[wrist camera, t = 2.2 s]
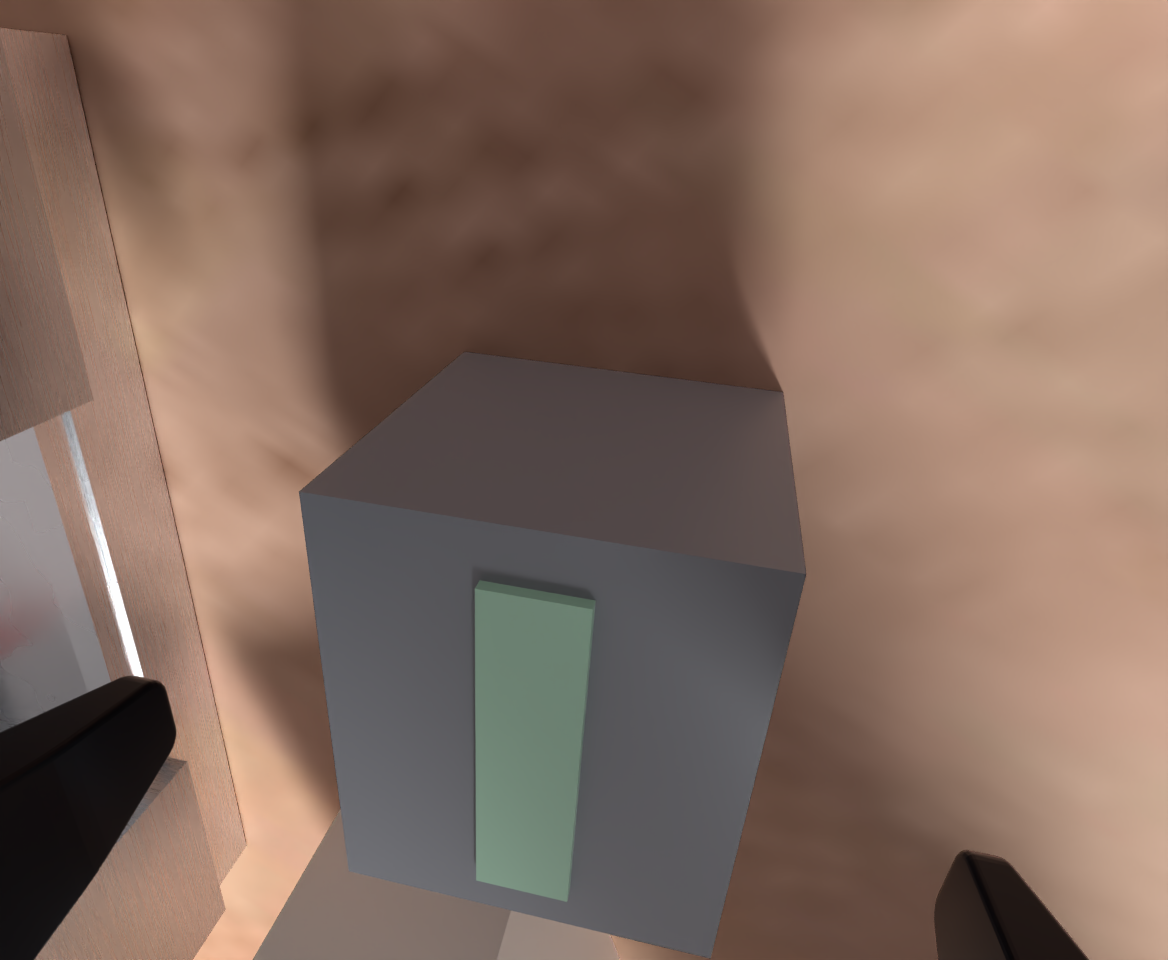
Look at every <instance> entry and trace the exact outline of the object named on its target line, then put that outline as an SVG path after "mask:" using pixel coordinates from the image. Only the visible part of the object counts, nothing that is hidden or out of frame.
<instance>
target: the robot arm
mask: <svg viewBox="0 0 1168 960" xmlns="http://www.w3.org/2000/svg"><path fill="white" fill-rule="evenodd" d="M175 740H176V725H175V721H174V718H173V714H172V710H171V706H170V702H169V698H168V694H167V691H166V688H165V686H164V685H163V684H162V683H161V682H160V681H158V680H154V679H149V678H144V677H140V676H134V675H129V676H123V677H121V678H118V679H116V680H114V681H111V682H109V683H107V684H105V685H103V686H100V687H98V688H96V689H94V690H92V691H90V692H87V693H85V694H83V695H81V696H79V697H76V698H74V699H72V700H70V701H68V702H65V703H63V704H61V705H59V706H57V707H54V708H52V709H50V710H48V711H46V712H43V713H41V714H39V715H37V716H35V717H32V718H30V719H28V720H26V721H24V722H21V723H19V724H17V725H15V726H13V727H10V728H8V729H6V730H4V731H2V732H0V960H35V958H36V957H37V956H38V954H39V953H40V952H41V950H42V949H43V947H44V946H45V945H46V943H47V942H48V941H49V939H50V938H51V936H52V935H53V934H54V932H55V931H56V930H57V928H58V927H59V926H60V924H61V923H62V921H63V920H64V919H65V917H66V916H67V915H68V913H69V912H70V910H71V909H72V908H73V906H74V905H75V904H76V902H77V901H78V900H79V898H80V897H81V895H82V894H83V893H84V891H85V890H86V888H87V887H88V885H89V884H90V882H91V881H92V880H93V878H94V877H95V875H96V874H97V872H98V871H99V869H100V868H101V866H102V864H103V863H104V861H105V860H106V858H107V857H108V855H109V854H110V852H111V850H112V849H113V847H114V845H115V844H116V842H117V840H118V839H119V837H120V835H121V834H122V832H123V831H124V829H125V827H126V826H127V824H128V822H129V821H130V819H131V817H132V816H133V814H134V812H135V811H136V809H137V807H138V806H139V804H140V802H141V801H142V799H143V797H144V796H145V794H146V793H147V791H148V789H149V788H150V786H151V784H152V783H153V781H154V779H155V778H156V776H157V774H158V773H159V771H160V769H161V768H162V766H163V764H164V763H165V761H166V759H167V758H168V756H169V755H170V753H171V751H172V749H173V746H174V744H175ZM934 922H935V933H936V942H937V952H938V960H1089V959H1088V958H1087V956H1086V955H1085V954H1084V953H1083V951H1082V950H1081V949H1080V948H1079V947H1078V945H1077V944H1076V943H1075V942H1074V940H1073V939H1072V938H1071V937H1070V936H1069V934H1068V933H1067V932H1066V931H1065V929H1064V928H1063V927H1062V926H1061V925H1060V923H1059V922H1058V921H1057V920H1056V918H1055V917H1054V916H1053V915H1052V914H1051V912H1050V911H1049V910H1048V909H1047V908H1046V906H1045V905H1044V904H1043V903H1042V901H1041V900H1040V899H1039V898H1038V897H1037V895H1036V894H1035V893H1034V892H1033V890H1032V889H1031V888H1030V887H1029V886H1028V884H1027V883H1026V882H1025V881H1024V879H1023V878H1022V877H1021V876H1020V875H1019V873H1018V872H1017V871H1016V870H1015V868H1014V867H1013V866H1012V865H1011V864H1010V863H1008V862H1007V861H1006V860H1005V859H1003V858H1001V857H998V856H994V855H989V854H984V853H979V852H975V851H970V850H964V851H961V852H960V853H959V854H958V855H957V856H956V858H955V860H954V862H953V864H952V866H951V868H950V870H949V873H948V875H947V877H946V879H945V881H944V883H943V885H942V888H941V890H940V892H939V894H938V896H937V899H936V904H935V911H934Z"/></svg>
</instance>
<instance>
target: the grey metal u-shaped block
mask: <svg viewBox="0 0 1168 960" xmlns="http://www.w3.org/2000/svg"><path fill="white" fill-rule="evenodd" d="M129 675H134V676H140V677H144V678H149V679H154V680H158V681H160V682H161V683H162V684H163V685H164V686H165V688H166V691H167V694H168V698H169V702H170V706H171V710H172V714H173V718H174V721H175V725H176V740H175V744H174V746H173V749H172V751H171V753H170V755H169V756H168V758H167V759H166V761H165V763H164V764H163V766H162V768H161V769H160V771H159V773H158V774H157V776H156V778H155V779H154V781H153V783H152V784H151V786H150V788H149V789H148V791H147V793H146V794H145V796H144V797H143V799H142V801H141V802H140V804H139V806H138V807H137V809H136V811H135V812H134V814H133V816H132V817H131V819H130V821H129V822H128V824H127V826H126V827H125V829H124V831H123V832H122V834H121V835H120V837H119V839H118V840H117V842H116V844H115V845H114V847H113V849H112V850H111V852H110V854H109V855H108V857H107V858H106V860H105V861H104V863H103V864H102V866H101V868H100V869H99V871H98V872H97V874H96V875H95V877H94V878H93V880H92V881H91V882H90V884H89V885H88V887H87V888H86V890H85V891H84V893H83V894H82V895H81V897H80V898H79V900H78V901H77V902H76V904H75V905H74V906H73V908H72V909H71V910H70V912H69V913H68V915H67V916H66V917H65V919H64V920H63V921H62V923H61V924H60V926H59V927H58V928H57V930H56V931H55V932H54V934H53V935H52V936H51V938H50V939H49V941H48V942H47V943H46V945H45V946H44V947H43V949H42V950H41V952H40V953H39V954H38V956H37V957H36V958H35V960H193V959H194V957H195V956H196V954H197V952H198V951H199V949H200V948H201V946H202V945H203V943H204V942H205V940H206V939H207V937H208V936H209V934H210V933H211V931H212V929H213V928H214V926H215V925H216V923H217V922H218V920H219V919H220V917H221V916H222V914H223V913H224V911H225V910H226V909H225V905H224V901H223V898H222V894H221V890H220V884H221V883H222V881H223V880H224V878H225V877H226V875H227V874H228V872H229V871H230V869H231V868H232V866H233V865H234V864H235V862H236V861H237V859H238V858H239V856H240V855H241V853H242V852H243V850H244V849H245V847H246V841H245V837H244V832H243V828H242V823H241V819H240V814H239V810H238V805H237V801H236V796H235V792H234V787H233V783H232V778H231V774H230V769H229V765H228V760H227V756H226V751H225V747H224V742H223V738H222V733H221V729H220V724H219V720H218V715H217V711H216V706H215V702H214V697H213V693H212V688H211V684H210V679H209V675H208V670H207V666H206V661H205V657H204V652H203V648H202V643H201V639H200V634H199V630H198V625H197V621H196V616H195V611H194V607H193V602H192V598H191V593H190V589H189V584H188V580H187V575H186V571H185V566H184V562H183V557H182V553H181V548H180V544H179V539H178V535H177V530H176V526H175V521H174V517H173V512H172V508H171V503H170V499H169V494H168V490H167V485H166V481H165V476H164V472H163V467H162V463H161V458H160V454H159V449H158V445H157V440H156V436H155V431H154V427H153V422H152V418H151V413H150V409H149V404H148V400H147V395H146V391H145V386H144V382H143V377H142V373H141V368H140V364H139V359H138V355H137V350H136V346H135V341H134V337H133V332H132V328H131V323H130V319H129V314H128V310H127V305H126V301H125V296H124V292H123V287H122V283H121V278H120V274H119V269H118V265H117V260H116V256H115V251H114V247H113V242H112V238H111V233H110V229H109V224H108V220H107V215H106V211H105V206H104V202H103V197H102V193H101V188H100V184H99V179H98V175H97V170H96V166H95V161H94V157H93V152H92V148H91V143H90V139H89V134H88V130H87V125H86V121H85V116H84V111H83V107H82V102H81V98H80V93H79V89H78V84H77V80H76V75H75V71H74V66H73V62H72V57H71V53H70V48H69V44H68V39H67V35H60V34H52V33H43V32H34V31H25V30H16V29H8V28H0V732H2V731H4V730H6V729H8V728H10V727H13V726H15V725H17V724H19V723H21V722H24V721H26V720H28V719H30V718H32V717H35V716H37V715H39V714H41V713H43V712H46V711H48V710H50V709H52V708H54V707H57V706H59V705H61V704H63V703H65V702H68V701H70V700H72V699H74V698H76V697H79V696H81V695H83V694H85V693H87V692H90V691H92V690H94V689H96V688H98V687H100V686H103V685H105V684H107V683H109V682H111V681H114V680H116V679H118V678H121V677H123V676H129Z"/></svg>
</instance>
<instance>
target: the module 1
mask: <svg viewBox="0 0 1168 960" xmlns="http://www.w3.org/2000/svg"><path fill="white" fill-rule="evenodd" d="M299 495H300V503H301V510H302V518H303V526H304V533H305V541H306V549H307V556H308V564H309V571H310V579H311V587H312V594H313V602H314V610H315V617H316V625H317V633H318V640H319V648H320V655H321V663H322V671H323V678H324V686H325V694H326V701H327V709H328V717H329V724H330V732H331V739H332V747H333V755H334V762H335V770H336V778H337V785H338V793H339V801H340V808H341V816H342V824H343V831H344V839H345V846H346V854H347V862H348V869H349V871H350V872H354V873H358V874H362V875H366V876H370V877H375V878H379V879H383V880H387V881H391V882H395V883H399V884H404V885H408V886H412V887H416V888H420V889H424V890H428V891H433V892H437V893H441V894H445V895H449V896H453V897H457V898H462V899H466V900H470V901H474V902H478V903H482V904H486V905H490V906H495V907H499V908H503V909H507V910H511V911H515V912H519V913H524V914H528V915H532V916H536V917H540V918H544V919H548V920H553V921H557V922H561V923H565V924H569V925H573V926H577V927H582V928H586V929H590V930H594V931H598V932H602V933H606V934H611V935H615V936H619V937H623V938H627V939H631V940H635V941H640V942H644V943H648V944H652V945H656V946H660V947H664V948H669V949H673V950H677V951H681V952H685V953H689V954H693V955H698V956H702V957H706V958H710V959H711V955H712V951H713V947H714V943H715V939H716V935H717V931H718V927H719V923H720V919H721V915H722V911H723V906H724V902H725V898H726V894H727V890H728V886H729V882H730V878H731V874H732V870H733V866H734V862H735V858H736V854H737V850H738V846H739V842H740V838H741V834H742V830H743V826H744V822H745V818H746V814H747V810H748V806H749V802H750V798H751V794H752V790H753V786H754V782H755V778H756V774H757V770H758V766H759V762H760V758H761V754H762V750H763V746H764V742H765V738H766V734H767V730H768V726H769V722H770V718H771V714H772V710H773V706H774V702H775V698H776V694H777V690H778V686H779V682H780V678H781V674H782V670H783V665H784V661H785V657H786V653H787V649H788V645H789V641H790V637H791V633H792V629H793V625H794V621H795V617H796V613H797V609H798V605H799V601H800V597H801V593H802V589H803V585H804V581H805V577H806V568H805V560H804V552H803V544H802V536H801V529H800V521H799V513H798V505H797V497H796V489H795V481H794V473H793V466H792V458H791V450H790V442H789V434H788V426H787V418H786V410H785V403H784V395H783V392H778V391H770V390H762V389H755V388H747V387H739V386H731V385H723V384H715V383H707V382H699V381H691V380H684V379H676V378H668V377H660V376H652V375H644V374H636V373H628V372H620V371H613V370H605V369H597V368H589V367H581V366H573V365H565V364H557V363H549V362H542V361H534V360H526V359H518V358H510V357H502V356H494V355H486V354H479V353H471V352H463V353H462V354H461V355H460V356H458V357H457V358H456V359H455V360H454V361H453V362H451V363H450V364H449V365H448V366H447V367H446V368H444V369H443V370H442V371H441V372H440V373H438V374H437V375H436V376H435V377H434V378H433V379H431V380H430V381H429V382H428V383H427V384H425V385H424V386H423V387H422V388H421V389H420V390H418V391H417V392H416V393H415V394H414V395H412V396H411V397H410V398H409V399H408V400H407V401H405V402H404V403H403V404H402V405H401V406H400V407H398V408H397V409H396V410H395V411H394V412H392V413H391V414H390V415H389V416H388V417H387V418H385V419H384V420H383V421H382V422H381V423H379V424H378V425H377V426H376V427H375V428H374V429H372V430H371V431H370V432H369V433H368V434H366V435H365V436H364V437H363V438H362V439H361V440H359V441H358V442H357V443H356V444H355V445H354V446H352V447H351V448H350V449H349V450H348V451H346V452H345V453H344V454H343V455H342V456H341V457H339V458H338V459H337V460H336V461H335V462H333V463H332V464H331V465H330V466H329V467H328V468H326V469H325V470H324V471H323V472H322V473H320V474H319V475H318V476H317V477H316V478H315V479H313V480H312V481H311V482H310V483H309V484H307V485H306V486H305V487H304V488H303V489H302V490H300V491H299Z"/></svg>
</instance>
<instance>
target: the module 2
mask: <svg viewBox="0 0 1168 960" xmlns="http://www.w3.org/2000/svg"><path fill="white" fill-rule="evenodd" d="M619 958H620V957H619V955H618V952H617V950H616V947H615V945H614V942H613V940H612V937H611V935H610V934H606V933H602V932H598V931H594V930H590V929H586V928H582V927H577V926H573V925H569V924H565V923H561V922H557V921H553V920H548V919H544V918H540V917H536V916H532V915H528V914H524V913H519V912H515V911H511V910H507V909H503V908H499V907H495V906H490V905H486V904H482V903H478V902H474V901H470V900H466V899H462V898H457V897H453V896H449V895H445V894H441V893H437V892H433V891H428V890H424V889H420V888H416V887H412V886H408V885H404V884H399V883H395V882H391V881H387V880H383V879H379V878H375V877H370V876H366V875H362V874H358V873H354V872H350V871H349V869H348V862H347V854H346V846H345V839H344V831H343V824H342V816H341V809H340V810H339V812H338V814H337V816H336V817H335V819H334V821H333V822H332V824H331V826H330V828H329V829H328V831H327V833H326V835H325V836H324V838H323V840H322V841H321V843H320V845H319V847H318V848H317V850H316V852H315V853H314V855H313V857H312V859H311V860H310V862H309V864H308V865H307V867H306V869H305V871H304V872H303V874H302V876H301V878H300V879H299V881H298V883H297V884H296V886H295V888H294V890H293V891H292V893H291V895H290V896H289V898H288V900H287V902H286V903H285V905H284V907H283V909H282V910H281V912H280V914H279V915H278V917H277V919H276V921H275V922H274V924H273V926H272V927H271V929H270V931H269V933H268V934H267V936H266V938H265V939H264V941H263V943H262V945H261V946H260V948H259V950H258V952H257V953H256V955H255V957H254V958H253V960H619Z"/></svg>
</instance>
